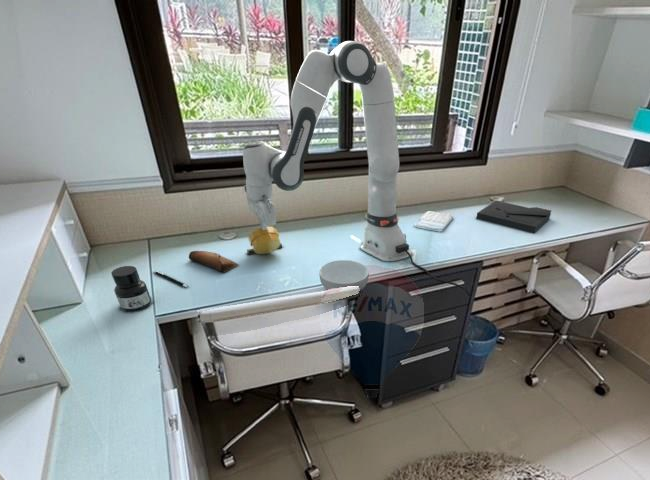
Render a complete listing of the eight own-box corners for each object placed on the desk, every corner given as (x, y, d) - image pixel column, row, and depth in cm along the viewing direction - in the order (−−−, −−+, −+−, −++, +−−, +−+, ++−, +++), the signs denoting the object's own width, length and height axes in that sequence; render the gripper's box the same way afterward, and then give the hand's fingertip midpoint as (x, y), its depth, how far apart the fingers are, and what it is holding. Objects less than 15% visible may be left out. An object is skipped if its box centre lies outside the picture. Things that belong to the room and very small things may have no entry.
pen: (155, 271, 147) (154, 269, 146) (188, 287, 139) (187, 284, 138) (153, 272, 146) (152, 269, 146) (186, 288, 138) (185, 285, 137)
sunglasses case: (239, 263, 152) (229, 252, 147) (229, 278, 150) (218, 268, 144) (206, 252, 160) (196, 241, 154) (196, 266, 158) (185, 256, 152)
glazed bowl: (276, 237, 164) (280, 250, 163) (248, 244, 161) (253, 257, 160) (276, 223, 154) (281, 236, 153) (247, 231, 150) (252, 244, 149)
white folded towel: (453, 218, 197) (453, 214, 196) (441, 232, 182) (441, 228, 181) (427, 213, 201) (427, 209, 200) (413, 227, 186) (413, 223, 185)
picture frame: (549, 218, 199) (494, 206, 212) (551, 210, 197) (496, 198, 210) (534, 233, 184) (476, 218, 197) (536, 224, 181) (477, 210, 194)
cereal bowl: (350, 307, 131) (350, 288, 126) (310, 292, 138) (308, 274, 133) (377, 285, 142) (378, 267, 138) (339, 273, 149) (338, 255, 145)
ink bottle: (118, 314, 124) (104, 280, 117) (120, 300, 131) (106, 267, 124) (153, 308, 128) (141, 274, 120) (153, 294, 134) (142, 262, 127)
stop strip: (282, 247, 166) (281, 244, 165) (248, 254, 160) (247, 251, 159) (280, 246, 167) (280, 242, 166) (247, 253, 161) (246, 249, 160)
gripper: (278, 199, 138) (281, 237, 146) (259, 183, 151) (262, 218, 159) (260, 201, 135) (265, 240, 143) (242, 184, 149) (247, 221, 157)
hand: (263, 229), depth 151 cm, fingers closed
